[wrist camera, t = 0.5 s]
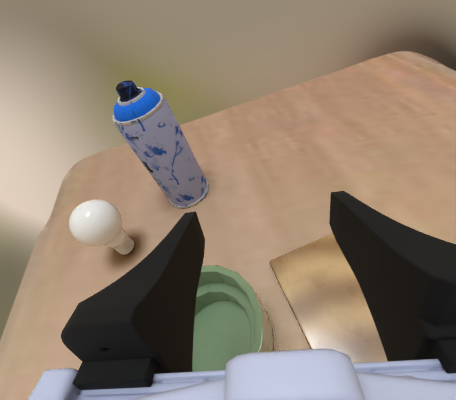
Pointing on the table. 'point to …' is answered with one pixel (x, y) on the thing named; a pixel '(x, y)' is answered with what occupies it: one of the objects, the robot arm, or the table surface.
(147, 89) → the aerosol can
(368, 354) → the board
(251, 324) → the pot
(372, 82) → the table surface
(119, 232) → the lightbulb
